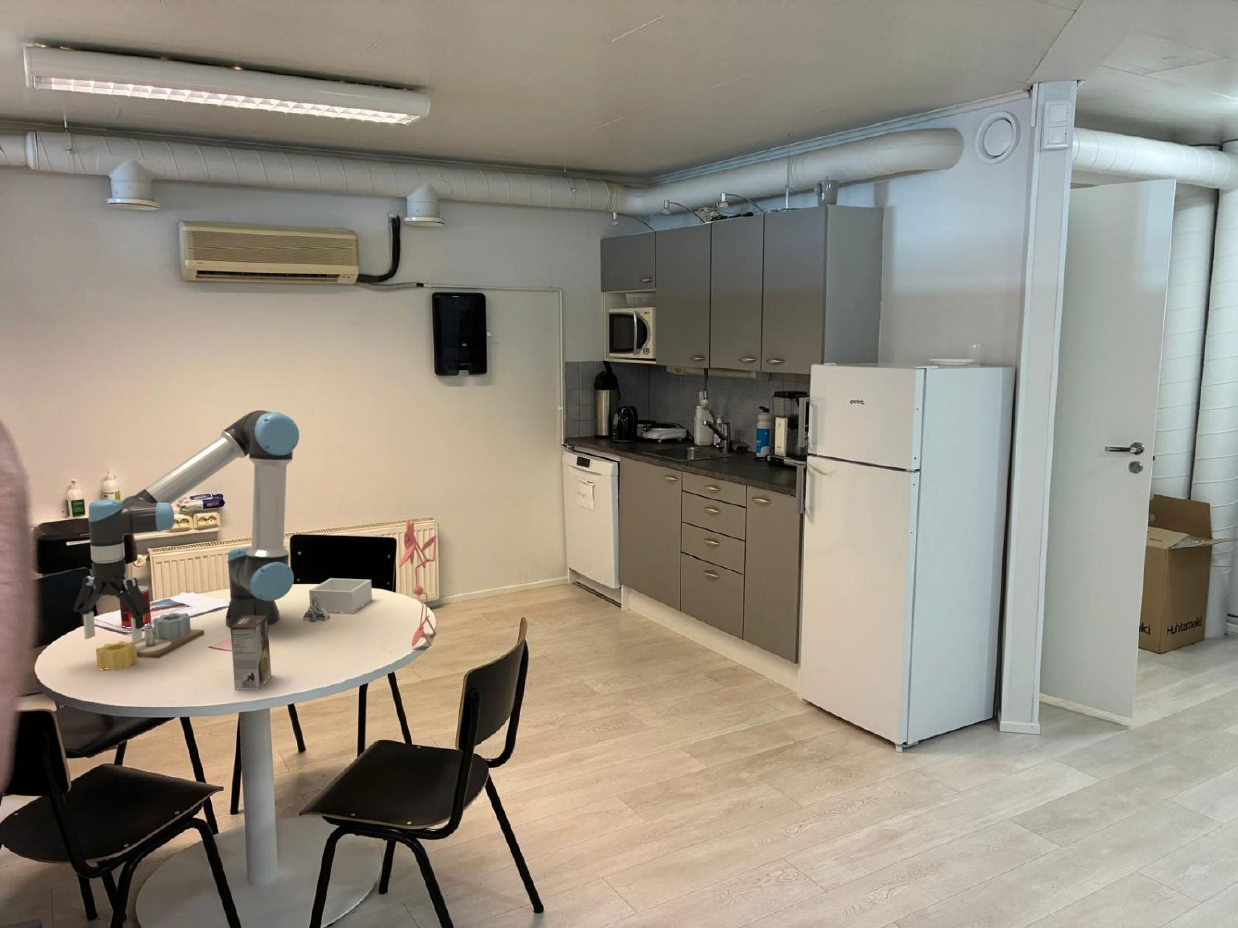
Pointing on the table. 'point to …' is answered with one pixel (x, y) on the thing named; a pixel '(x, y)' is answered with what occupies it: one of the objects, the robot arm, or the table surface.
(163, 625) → the gear
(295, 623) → the table surface
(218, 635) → the table surface
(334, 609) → the box
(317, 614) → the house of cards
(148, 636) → the peg
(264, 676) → the coffee box
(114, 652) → the ochre gear
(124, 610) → the canned food
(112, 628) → the table surface
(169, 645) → the gear board
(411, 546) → the figurine
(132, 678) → the table surface
